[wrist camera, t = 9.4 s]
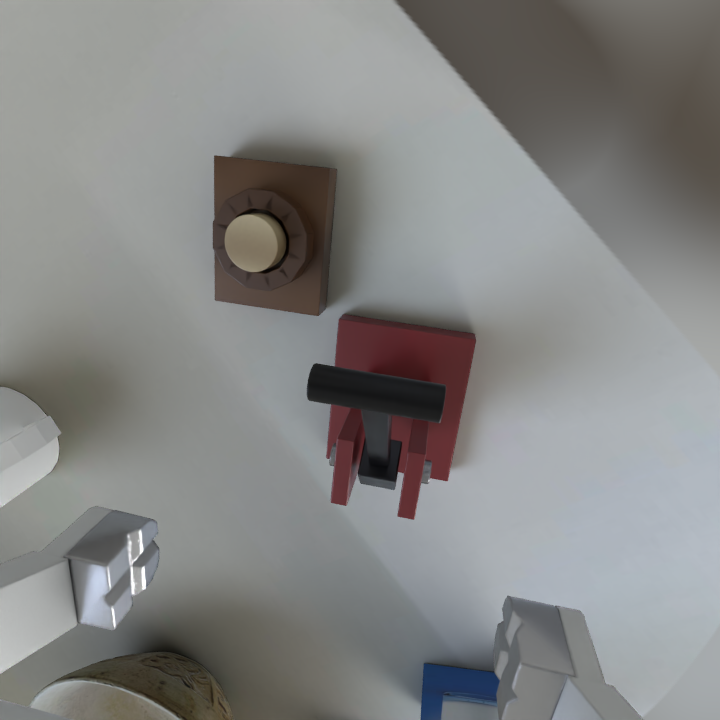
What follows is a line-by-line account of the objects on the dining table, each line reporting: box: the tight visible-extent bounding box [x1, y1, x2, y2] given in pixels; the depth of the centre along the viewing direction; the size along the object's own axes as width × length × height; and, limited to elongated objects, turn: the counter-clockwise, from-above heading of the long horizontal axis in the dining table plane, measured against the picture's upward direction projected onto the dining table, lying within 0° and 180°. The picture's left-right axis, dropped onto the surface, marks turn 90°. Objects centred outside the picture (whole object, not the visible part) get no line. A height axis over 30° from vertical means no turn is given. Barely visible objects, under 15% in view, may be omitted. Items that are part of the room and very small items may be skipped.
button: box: [225, 213, 286, 272], centre depth 31 cm, size 4×4×2 cm
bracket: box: [326, 314, 476, 520], centre depth 33 cm, size 12×10×12 cm
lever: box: [307, 363, 446, 490], centre depth 24 cm, size 14×5×2 cm
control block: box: [213, 156, 337, 316], centre depth 34 cm, size 10×8×4 cm
